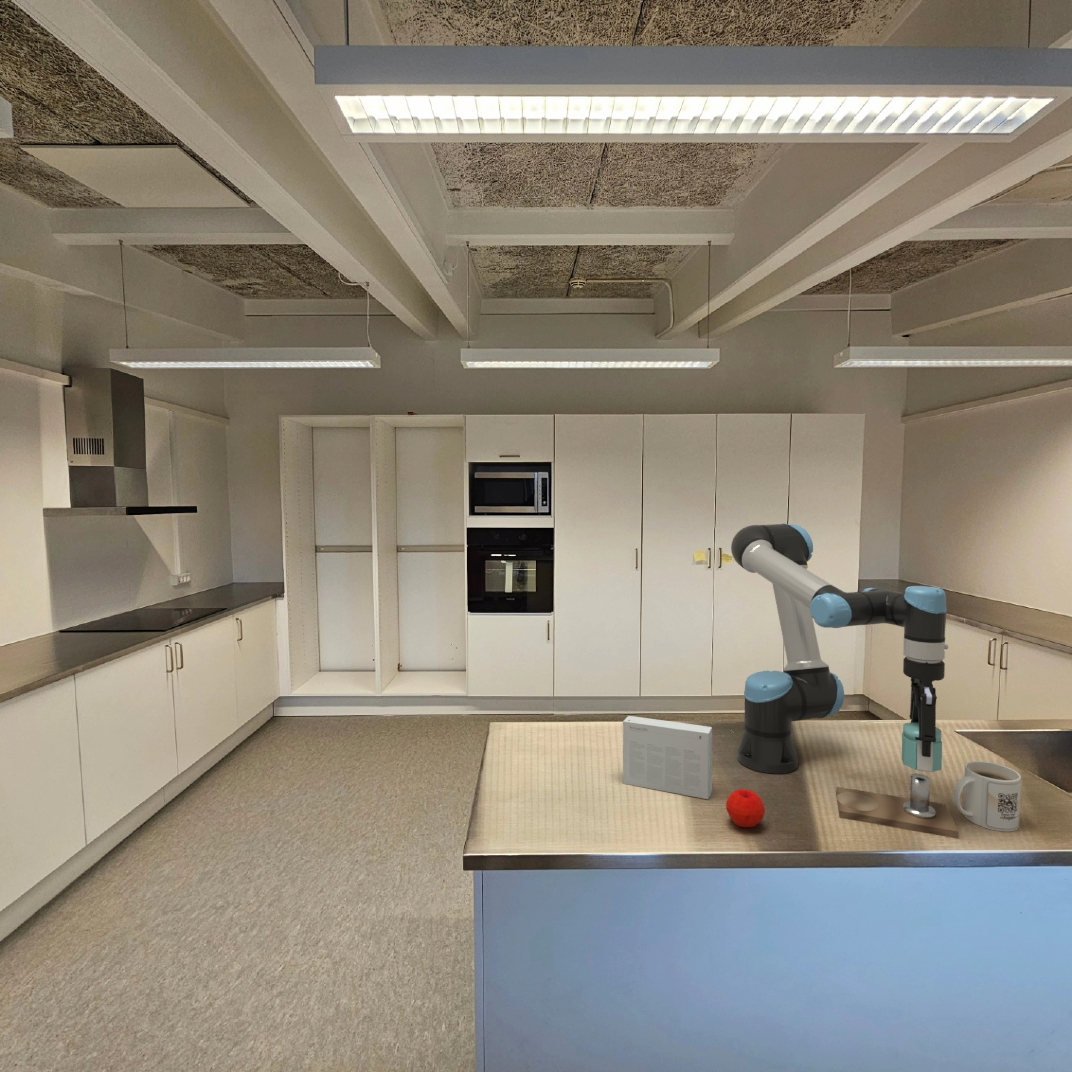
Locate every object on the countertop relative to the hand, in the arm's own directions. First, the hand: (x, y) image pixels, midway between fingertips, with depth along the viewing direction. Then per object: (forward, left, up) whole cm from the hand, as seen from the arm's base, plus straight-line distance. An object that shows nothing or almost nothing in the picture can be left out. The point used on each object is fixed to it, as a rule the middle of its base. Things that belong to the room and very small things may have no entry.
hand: (921, 762), depth 132 cm
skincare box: (-54, -6, -13) cm, 56 cm away
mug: (+13, +5, -13) cm, 19 cm away
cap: (0, 0, 0) cm, 0 cm away
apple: (-35, -17, -13) cm, 41 cm away
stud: (0, 0, -11) cm, 11 cm away
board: (-5, 0, -13) cm, 14 cm away
